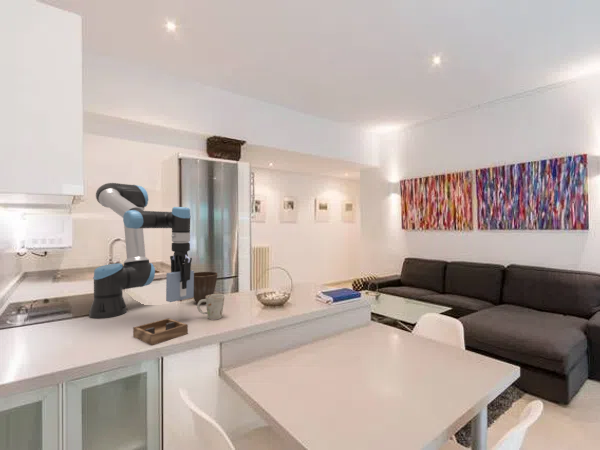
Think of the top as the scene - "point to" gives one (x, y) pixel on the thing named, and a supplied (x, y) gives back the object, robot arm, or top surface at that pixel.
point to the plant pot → (204, 285)
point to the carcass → (160, 331)
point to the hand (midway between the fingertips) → (180, 295)
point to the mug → (213, 306)
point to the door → (178, 286)
